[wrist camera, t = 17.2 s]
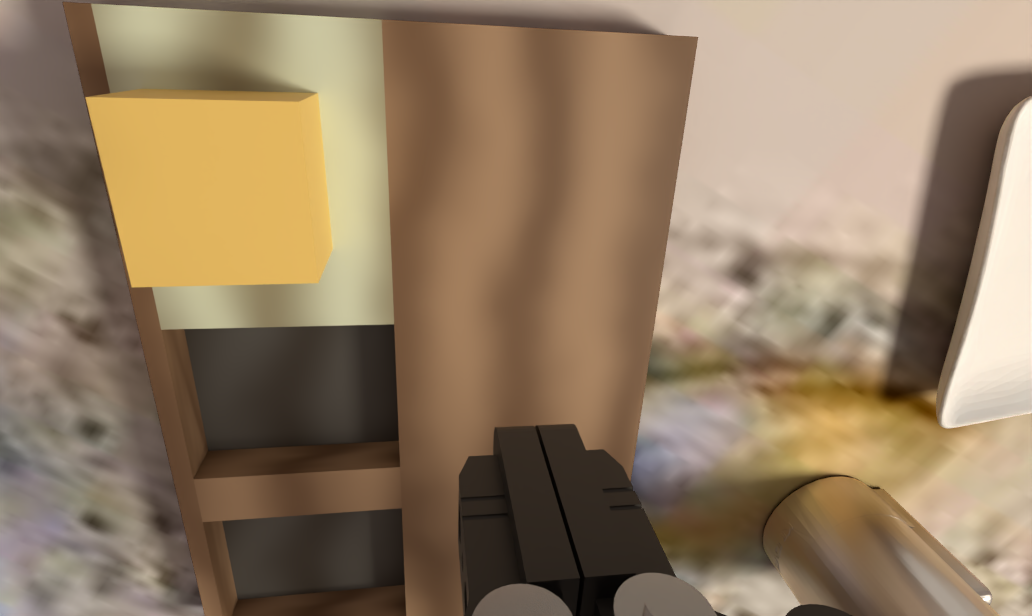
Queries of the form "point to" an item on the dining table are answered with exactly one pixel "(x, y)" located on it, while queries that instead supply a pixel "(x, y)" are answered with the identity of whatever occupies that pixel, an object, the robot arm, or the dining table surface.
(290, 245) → the block
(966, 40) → the dining table surface
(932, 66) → the dining table surface
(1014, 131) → the salad plate
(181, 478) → the wooden compartment tray
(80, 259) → the dining table surface
